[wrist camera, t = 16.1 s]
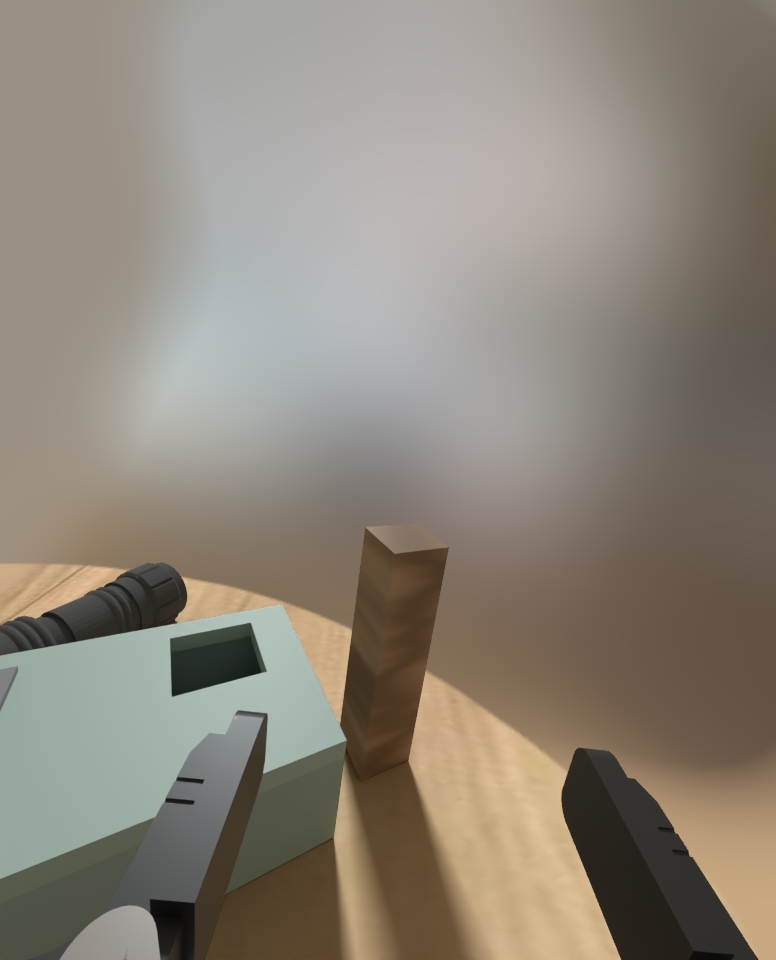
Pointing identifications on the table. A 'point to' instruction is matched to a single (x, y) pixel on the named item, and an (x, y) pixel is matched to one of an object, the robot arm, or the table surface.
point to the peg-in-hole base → (148, 759)
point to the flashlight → (103, 611)
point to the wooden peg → (390, 644)
